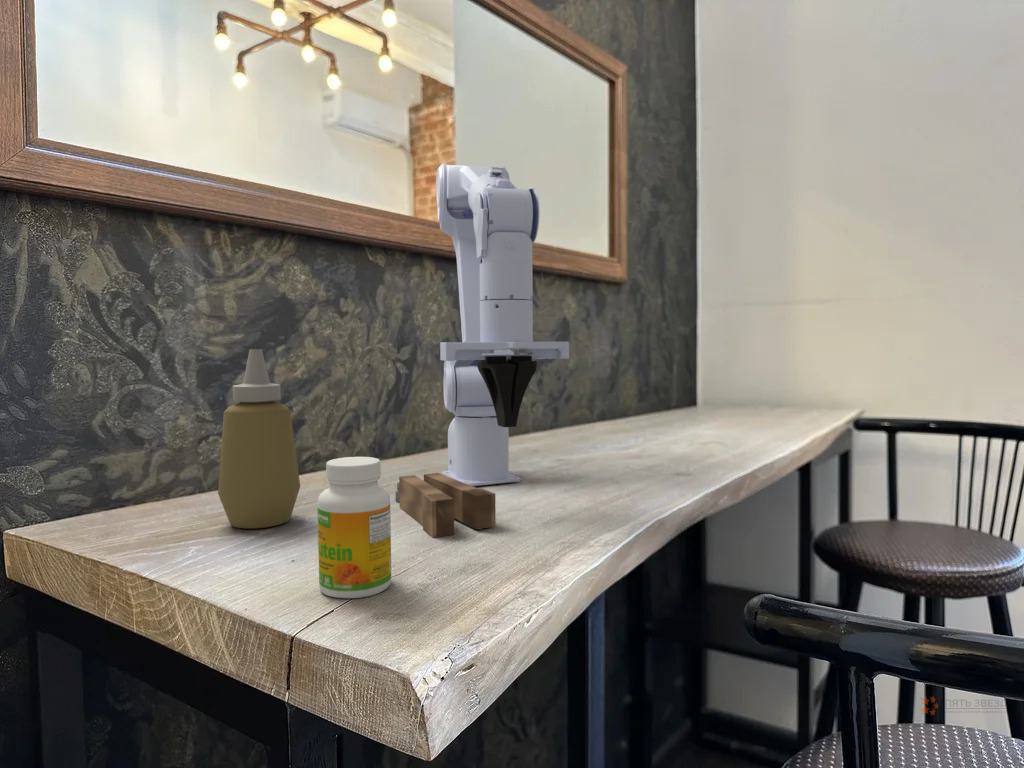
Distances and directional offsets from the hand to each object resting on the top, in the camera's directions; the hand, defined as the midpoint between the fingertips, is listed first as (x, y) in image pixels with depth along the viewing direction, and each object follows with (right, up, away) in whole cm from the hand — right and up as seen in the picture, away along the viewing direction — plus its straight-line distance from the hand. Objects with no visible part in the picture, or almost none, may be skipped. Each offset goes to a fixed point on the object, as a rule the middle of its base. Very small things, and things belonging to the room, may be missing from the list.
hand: (506, 426), depth 74 cm
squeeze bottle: (-26, -10, -4) cm, 28 cm away
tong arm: (-7, -9, 0) cm, 12 cm away
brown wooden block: (-9, -9, 0) cm, 13 cm away
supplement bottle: (-11, -11, -23) cm, 28 cm away
